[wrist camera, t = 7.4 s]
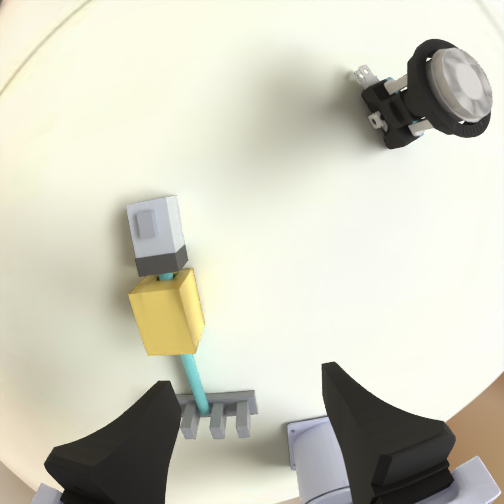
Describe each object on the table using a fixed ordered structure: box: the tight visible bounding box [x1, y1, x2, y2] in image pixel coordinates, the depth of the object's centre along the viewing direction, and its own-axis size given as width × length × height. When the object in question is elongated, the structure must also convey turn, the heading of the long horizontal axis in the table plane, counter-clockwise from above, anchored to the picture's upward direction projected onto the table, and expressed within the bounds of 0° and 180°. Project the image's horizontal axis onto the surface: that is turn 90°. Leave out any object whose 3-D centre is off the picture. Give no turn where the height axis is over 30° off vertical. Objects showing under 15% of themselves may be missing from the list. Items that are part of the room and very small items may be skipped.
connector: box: [126, 195, 185, 258], centre depth 18 cm, size 4×3×3 cm
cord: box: [158, 273, 211, 416], centre depth 20 cm, size 16×1×1 cm, turn 8°
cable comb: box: [176, 391, 258, 439], centre depth 21 cm, size 2×9×4 cm, turn 98°
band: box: [135, 244, 188, 277], centre depth 19 cm, size 1×3×3 cm, turn 98°
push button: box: [354, 39, 493, 149], centre depth 13 cm, size 7×5×10 cm
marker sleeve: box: [128, 268, 205, 356], centre depth 19 cm, size 4×3×4 cm
